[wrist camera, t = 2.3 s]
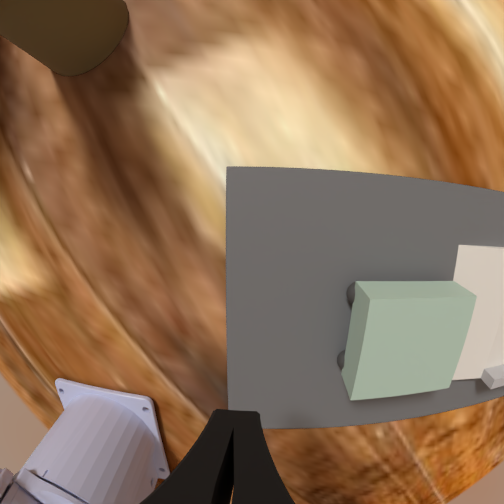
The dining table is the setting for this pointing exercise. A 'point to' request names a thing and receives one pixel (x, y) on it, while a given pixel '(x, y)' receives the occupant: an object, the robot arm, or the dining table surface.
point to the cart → (404, 336)
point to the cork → (65, 31)
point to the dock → (338, 280)
